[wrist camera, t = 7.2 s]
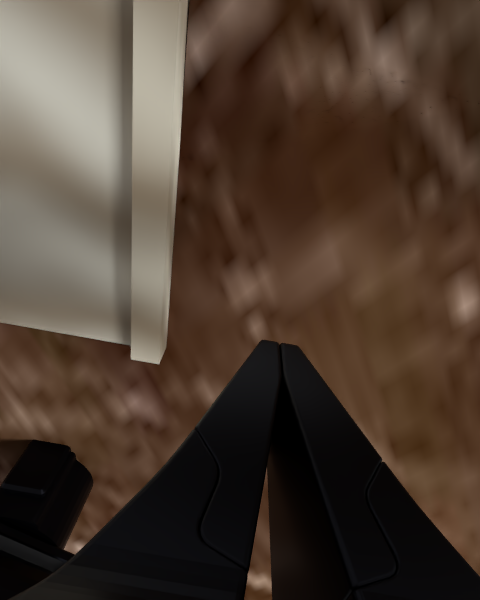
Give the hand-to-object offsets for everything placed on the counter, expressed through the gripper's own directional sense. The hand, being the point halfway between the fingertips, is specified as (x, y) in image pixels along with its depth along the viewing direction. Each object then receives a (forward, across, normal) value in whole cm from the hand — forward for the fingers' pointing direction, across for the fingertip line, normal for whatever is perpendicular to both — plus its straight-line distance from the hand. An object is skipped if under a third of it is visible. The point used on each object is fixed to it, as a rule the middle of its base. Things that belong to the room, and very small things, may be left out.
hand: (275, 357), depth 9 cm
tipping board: (+10, +5, 0) cm, 11 cm away
